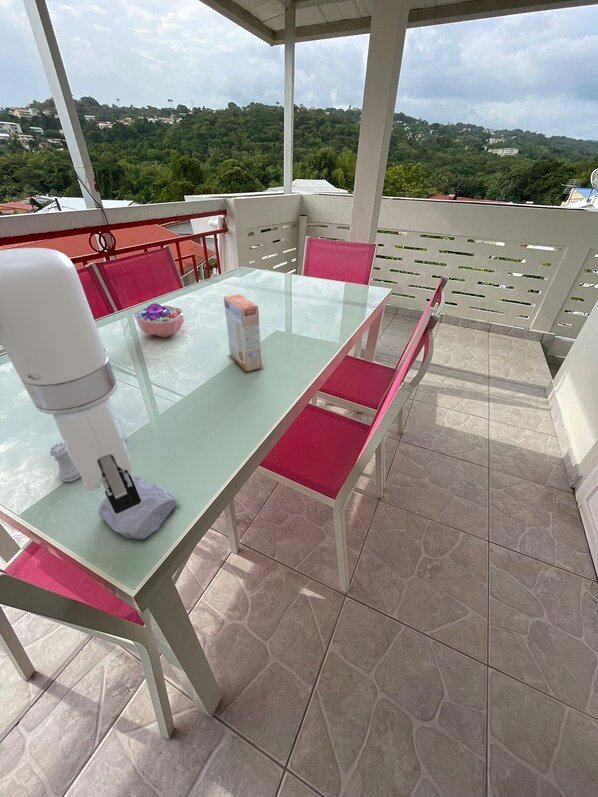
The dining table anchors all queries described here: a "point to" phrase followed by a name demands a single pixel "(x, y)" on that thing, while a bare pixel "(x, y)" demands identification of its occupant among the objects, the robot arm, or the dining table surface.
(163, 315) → the cell model
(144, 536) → the stone block
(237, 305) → the cracker box
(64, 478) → the rook chess piece
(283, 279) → the dining table surface
